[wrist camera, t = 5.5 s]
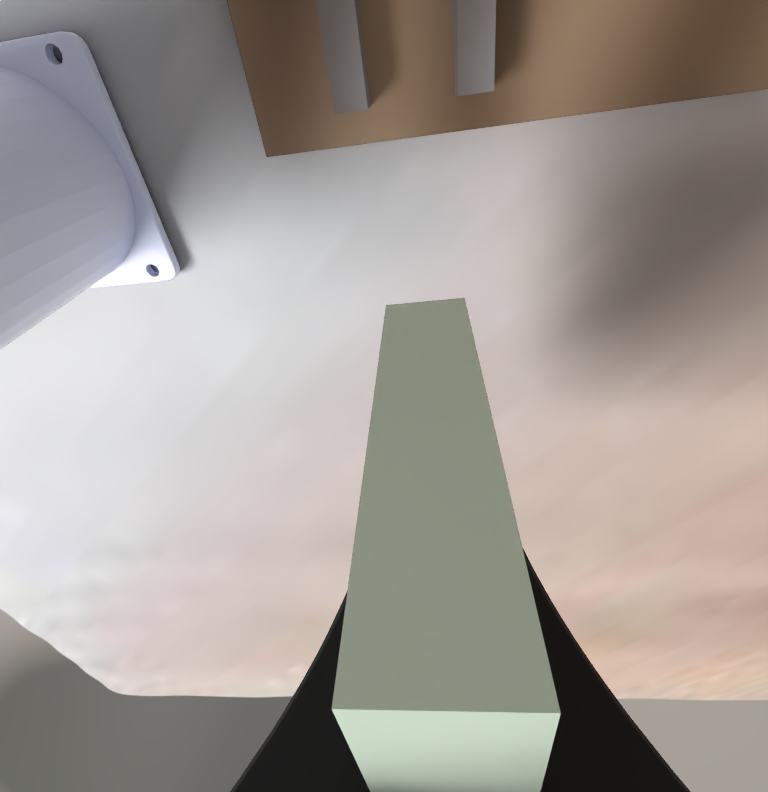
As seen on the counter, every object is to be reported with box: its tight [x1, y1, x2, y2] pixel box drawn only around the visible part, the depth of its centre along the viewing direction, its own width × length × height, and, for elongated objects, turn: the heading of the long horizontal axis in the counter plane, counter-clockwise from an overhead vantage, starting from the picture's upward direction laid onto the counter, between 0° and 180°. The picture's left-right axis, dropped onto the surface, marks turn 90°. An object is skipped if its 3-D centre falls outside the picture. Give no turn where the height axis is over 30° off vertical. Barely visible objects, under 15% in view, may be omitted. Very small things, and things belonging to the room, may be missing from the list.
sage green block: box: [332, 298, 561, 792], centre depth 10 cm, size 2×10×9 cm, turn 7°
